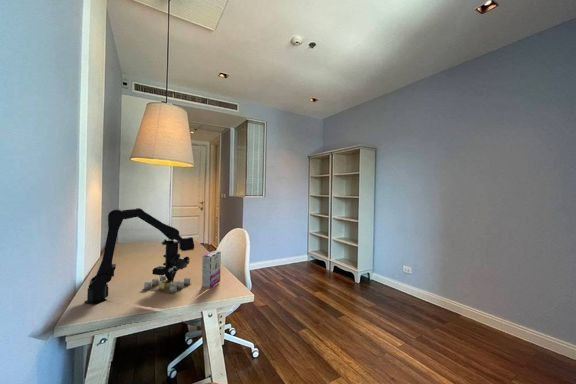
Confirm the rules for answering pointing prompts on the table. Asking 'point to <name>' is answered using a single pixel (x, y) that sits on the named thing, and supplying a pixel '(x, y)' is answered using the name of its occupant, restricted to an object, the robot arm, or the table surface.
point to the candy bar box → (211, 269)
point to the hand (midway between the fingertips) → (170, 283)
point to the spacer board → (173, 288)
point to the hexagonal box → (165, 284)
